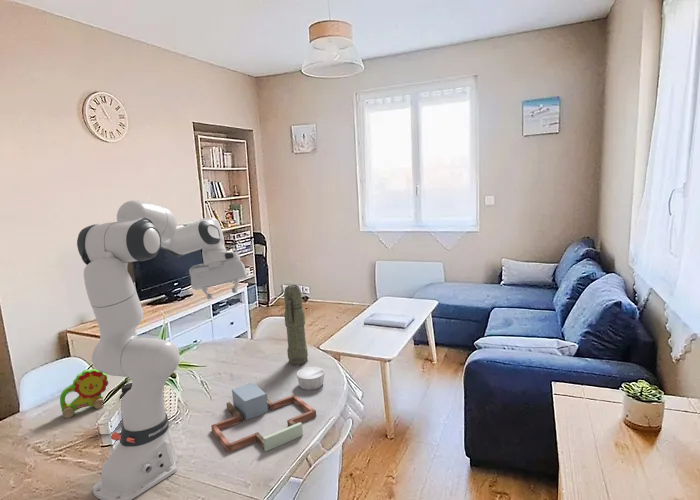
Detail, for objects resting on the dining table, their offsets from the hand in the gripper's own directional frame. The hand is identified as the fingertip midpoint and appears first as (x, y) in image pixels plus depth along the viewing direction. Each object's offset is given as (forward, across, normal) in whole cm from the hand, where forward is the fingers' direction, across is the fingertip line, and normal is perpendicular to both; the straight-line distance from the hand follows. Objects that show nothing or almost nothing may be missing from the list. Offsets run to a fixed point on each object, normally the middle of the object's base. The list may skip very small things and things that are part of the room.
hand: (222, 295), depth 160 cm
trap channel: (+46, +6, -2) cm, 46 cm away
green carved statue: (+30, +17, +42) cm, 55 cm away
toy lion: (+28, -60, +13) cm, 68 cm away
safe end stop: (+52, +14, -15) cm, 56 cm away
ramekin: (+40, +23, +20) cm, 50 cm away
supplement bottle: (+34, -41, +6) cm, 53 cm away
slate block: (+42, +1, +5) cm, 42 cm away
